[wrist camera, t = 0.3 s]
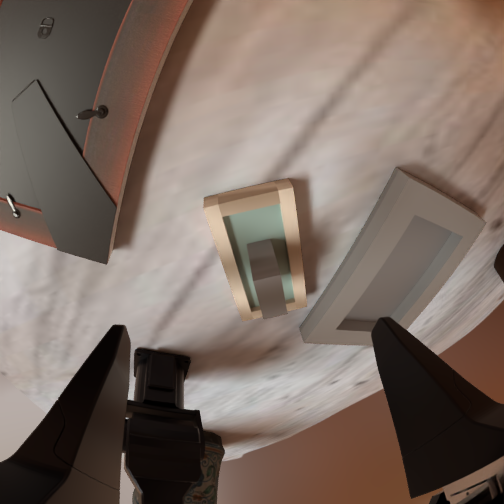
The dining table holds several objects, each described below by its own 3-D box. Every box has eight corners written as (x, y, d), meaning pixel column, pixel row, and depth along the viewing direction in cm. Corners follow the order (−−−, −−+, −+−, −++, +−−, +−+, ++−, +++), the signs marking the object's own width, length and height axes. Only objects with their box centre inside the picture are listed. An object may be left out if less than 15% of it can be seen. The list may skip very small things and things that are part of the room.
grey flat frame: (385, 333, 34) (391, 345, 33) (299, 327, 31) (303, 342, 29) (475, 212, 24) (486, 222, 22) (395, 167, 20) (409, 177, 19)
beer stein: (212, 449, 59) (221, 539, 40) (132, 441, 53) (133, 535, 34) (233, 430, 50) (248, 543, 31) (134, 420, 44) (134, 543, 25)
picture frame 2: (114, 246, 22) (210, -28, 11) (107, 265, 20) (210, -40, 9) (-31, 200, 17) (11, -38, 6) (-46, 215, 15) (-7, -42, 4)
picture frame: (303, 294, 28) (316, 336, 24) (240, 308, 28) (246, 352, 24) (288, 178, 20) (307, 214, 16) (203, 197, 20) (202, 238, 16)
